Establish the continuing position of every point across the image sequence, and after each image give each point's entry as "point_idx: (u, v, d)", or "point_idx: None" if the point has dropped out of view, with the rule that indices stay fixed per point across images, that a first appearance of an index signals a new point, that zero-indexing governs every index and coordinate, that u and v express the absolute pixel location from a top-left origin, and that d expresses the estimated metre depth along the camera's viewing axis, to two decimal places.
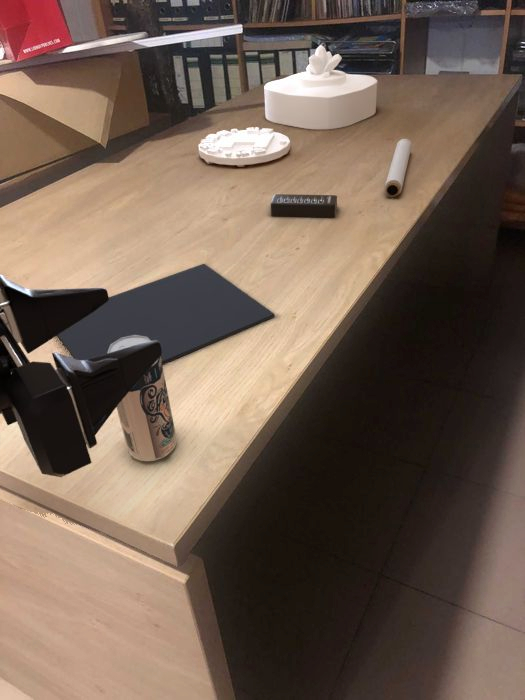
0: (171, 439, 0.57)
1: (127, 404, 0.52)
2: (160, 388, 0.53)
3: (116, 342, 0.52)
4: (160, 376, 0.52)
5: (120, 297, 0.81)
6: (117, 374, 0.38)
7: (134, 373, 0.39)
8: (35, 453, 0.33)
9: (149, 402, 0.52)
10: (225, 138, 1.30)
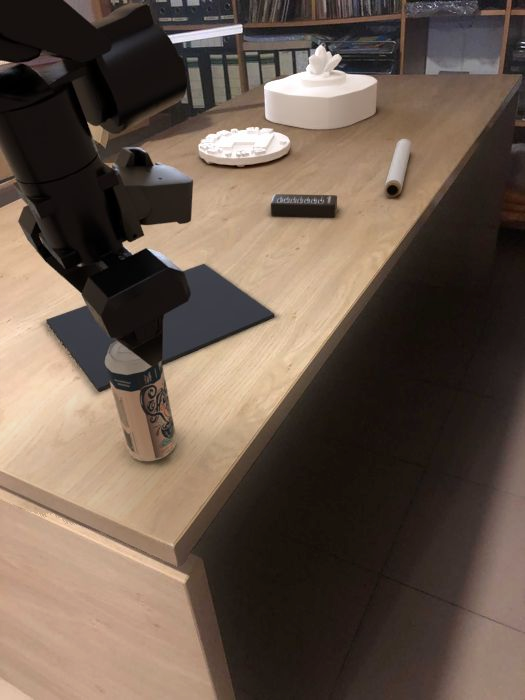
0: (171, 439, 0.57)
1: (127, 404, 0.52)
2: (160, 388, 0.53)
3: (116, 342, 0.52)
4: (160, 376, 0.52)
5: None
6: (150, 334, 0.44)
7: (145, 349, 0.45)
8: (132, 287, 0.37)
9: (149, 402, 0.52)
10: (225, 138, 1.30)
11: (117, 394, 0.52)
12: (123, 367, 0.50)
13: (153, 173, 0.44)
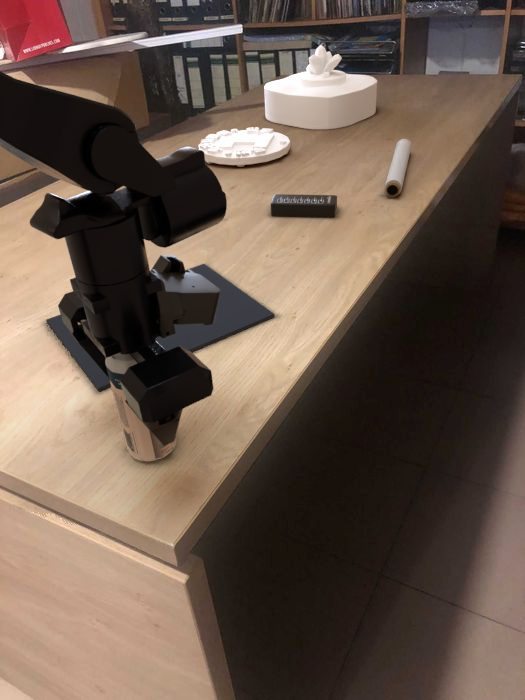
0: None
1: None
2: None
3: None
4: None
5: None
6: (170, 419, 0.50)
7: (163, 431, 0.51)
8: (168, 380, 0.44)
9: None
10: (225, 138, 1.30)
11: (117, 394, 0.52)
12: (123, 367, 0.50)
13: (187, 280, 0.52)
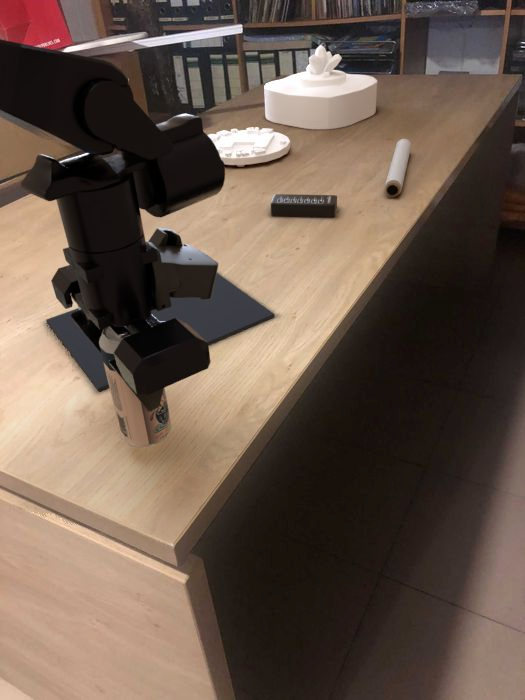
0: (165, 425, 0.55)
1: (121, 387, 0.51)
2: None
3: None
4: None
5: None
6: None
7: (147, 395, 0.50)
8: (163, 351, 0.42)
9: None
10: (225, 138, 1.30)
11: (111, 376, 0.51)
12: None
13: (184, 253, 0.50)
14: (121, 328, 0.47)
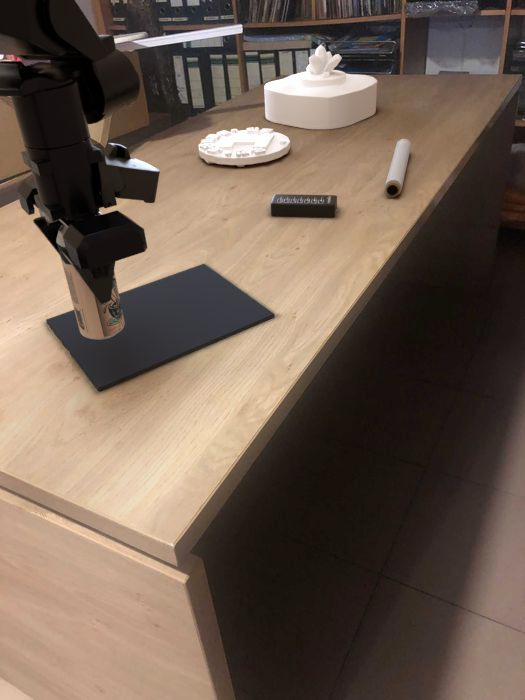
0: (118, 320, 0.63)
1: (76, 280, 0.58)
2: None
3: None
4: None
5: (120, 297, 0.81)
6: (103, 274, 0.57)
7: (98, 286, 0.58)
8: (103, 231, 0.50)
9: None
10: (225, 138, 1.30)
11: (67, 270, 0.58)
12: None
13: (130, 162, 0.58)
14: (72, 222, 0.55)
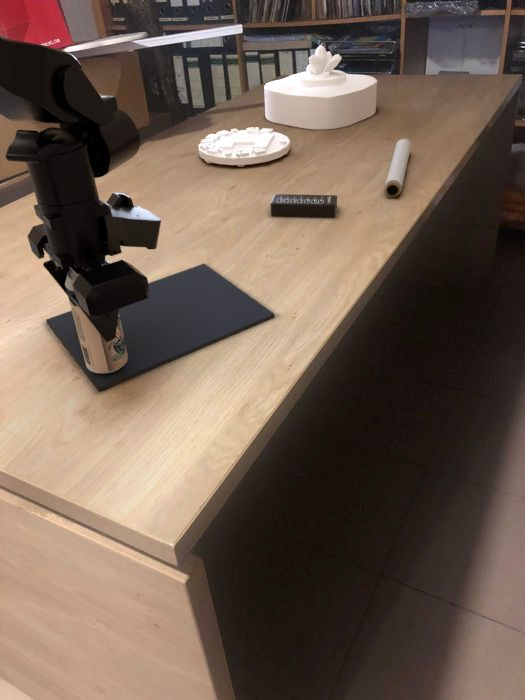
0: (122, 355, 0.67)
1: (83, 320, 0.63)
2: None
3: None
4: None
5: None
6: (109, 315, 0.62)
7: (104, 326, 0.62)
8: (110, 281, 0.54)
9: None
10: (225, 138, 1.30)
11: (75, 311, 0.63)
12: None
13: (133, 212, 0.62)
14: (80, 269, 0.59)
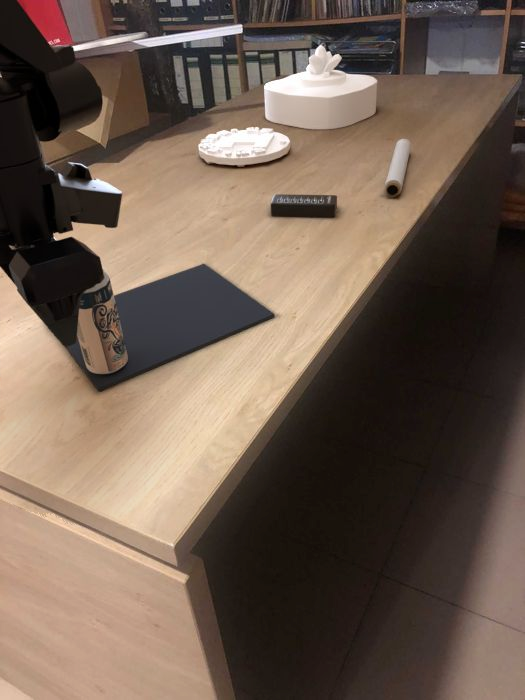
0: (122, 356, 0.67)
1: (82, 321, 0.63)
2: (110, 308, 0.63)
3: None
4: (110, 298, 0.63)
5: (120, 297, 0.81)
6: (66, 315, 0.50)
7: (61, 328, 0.51)
8: (52, 261, 0.44)
9: (100, 320, 0.63)
10: (225, 138, 1.30)
11: None
12: None
13: (89, 183, 0.53)
14: None
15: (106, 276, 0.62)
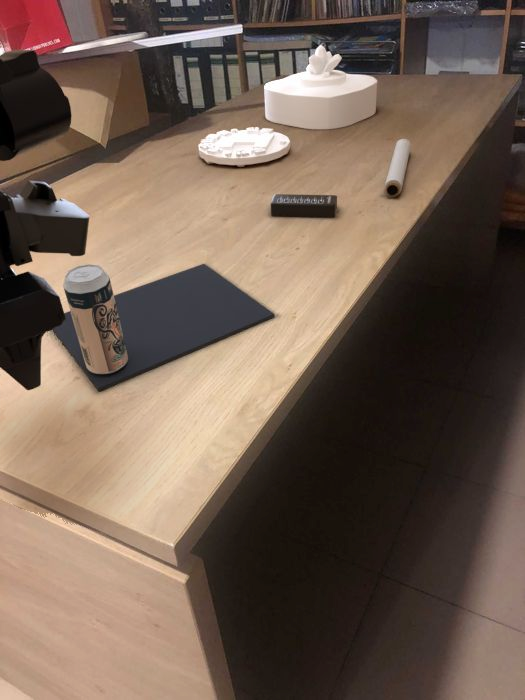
0: (122, 356, 0.67)
1: (82, 321, 0.63)
2: (110, 308, 0.63)
3: (73, 269, 0.63)
4: (110, 298, 0.63)
5: (120, 297, 0.81)
6: (26, 357, 0.45)
7: (21, 371, 0.45)
8: (2, 304, 0.39)
9: (100, 320, 0.63)
10: (225, 138, 1.30)
11: (74, 312, 0.63)
12: (77, 287, 0.61)
13: (52, 206, 0.47)
14: None
15: (106, 276, 0.62)
